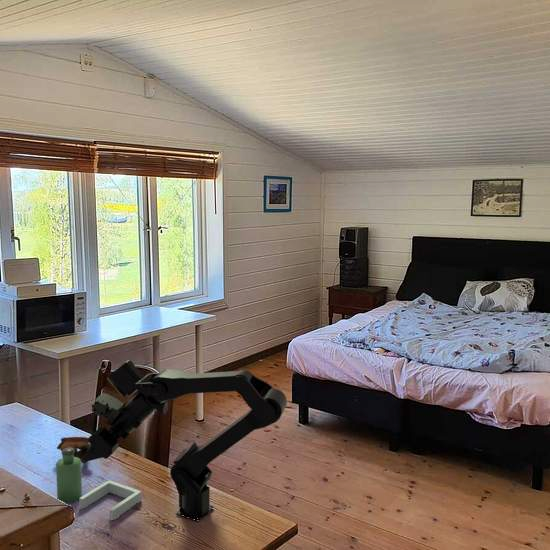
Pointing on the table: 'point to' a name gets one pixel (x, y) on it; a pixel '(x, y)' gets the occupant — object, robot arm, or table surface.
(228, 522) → the table surface
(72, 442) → the pottery mug
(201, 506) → the robot arm
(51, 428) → the table surface
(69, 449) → the bottle
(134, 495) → the u rest
